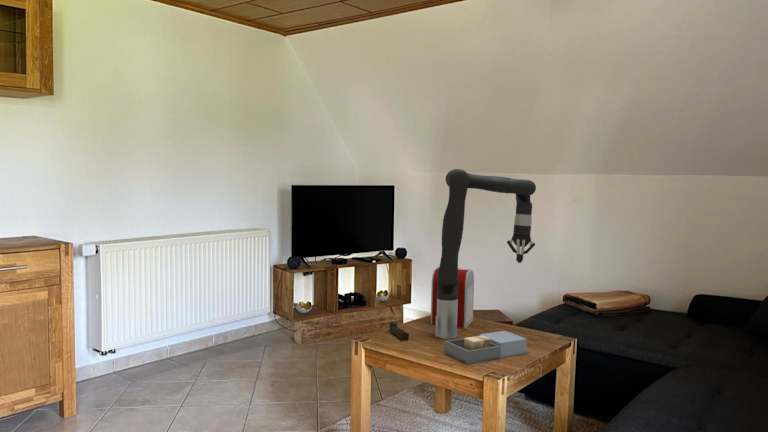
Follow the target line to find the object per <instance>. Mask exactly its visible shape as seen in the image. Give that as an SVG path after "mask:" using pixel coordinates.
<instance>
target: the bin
mask: <svg viewBox="0 0 768 432" xmlns="http://www.w3.org/2000/svg"><path fill="white" fill-rule="evenodd" d="M464 338H465V337H462V338H454V339H448V340H444V344H443V345H444V346H443V347H444V348H443V349H444V351H443V353H444V354H446V355H448V356H449V357H452V358H454V359H456V360H458V361H460V362H462V363H464V364H466V365H472V364H478V363H483V362H490V361H495V360H496V361H497V360H501V358H500V352H501V346H498V345H496V344H494V343H491V347H488V348H482V349H476V350H469V351H468V350H466V349H464Z"/></svg>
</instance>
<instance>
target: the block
mask: <svg viewBox="0 0 768 432" xmlns="http://www.w3.org/2000/svg"><path fill="white" fill-rule="evenodd" d="M463 338H464V349H466V350H468V351H469V350H476V349H482V348H488V347H491V339H490V338H487V337H485V336H479V335H475V336H469V337H463Z"/></svg>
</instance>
